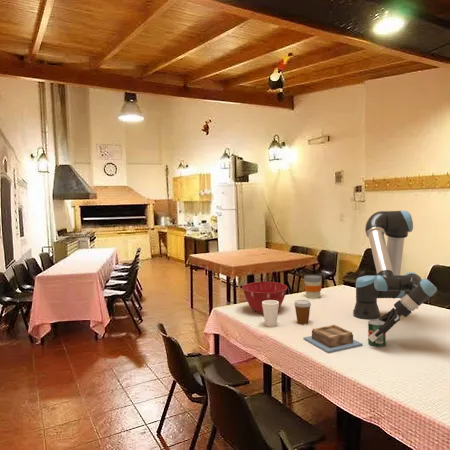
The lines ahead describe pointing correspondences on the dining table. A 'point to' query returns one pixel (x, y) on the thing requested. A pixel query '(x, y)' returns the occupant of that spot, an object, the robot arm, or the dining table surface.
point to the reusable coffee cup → (312, 286)
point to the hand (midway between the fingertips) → (370, 336)
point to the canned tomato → (372, 327)
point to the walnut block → (332, 336)
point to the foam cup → (270, 312)
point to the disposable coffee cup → (302, 311)
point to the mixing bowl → (263, 293)
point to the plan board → (332, 349)
